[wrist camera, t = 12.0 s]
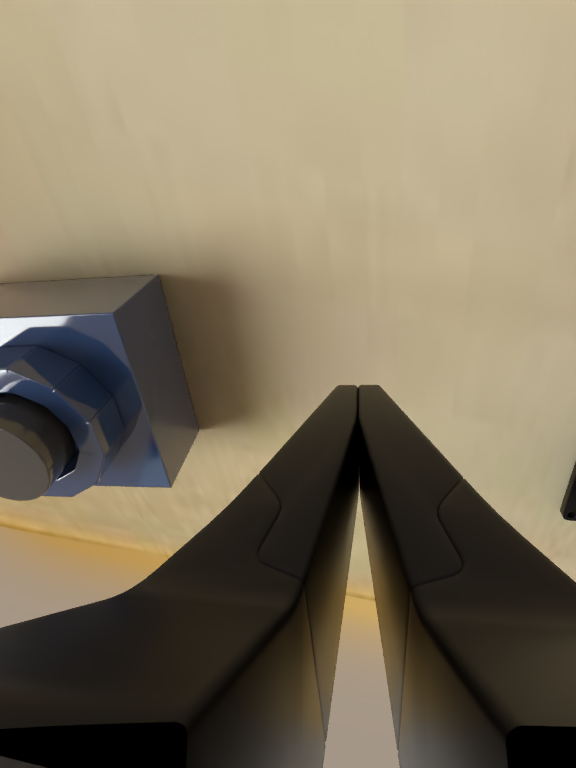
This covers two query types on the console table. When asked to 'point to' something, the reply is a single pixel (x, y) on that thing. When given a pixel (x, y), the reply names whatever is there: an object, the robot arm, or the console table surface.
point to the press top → (31, 448)
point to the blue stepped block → (101, 376)
